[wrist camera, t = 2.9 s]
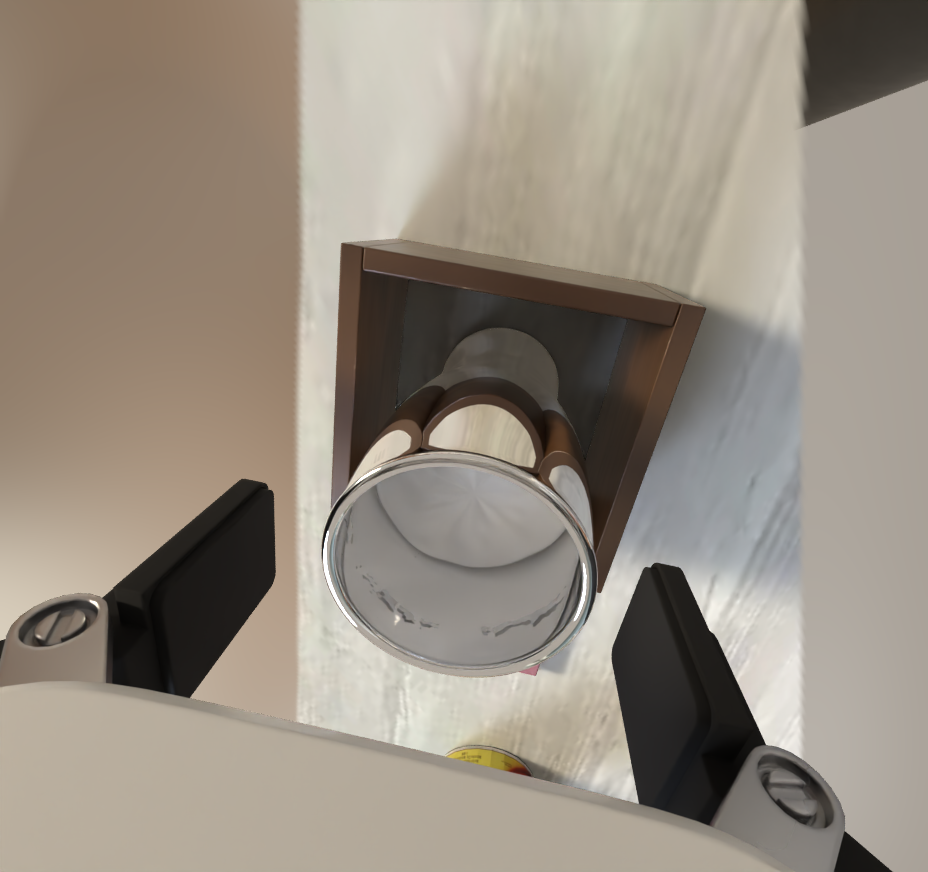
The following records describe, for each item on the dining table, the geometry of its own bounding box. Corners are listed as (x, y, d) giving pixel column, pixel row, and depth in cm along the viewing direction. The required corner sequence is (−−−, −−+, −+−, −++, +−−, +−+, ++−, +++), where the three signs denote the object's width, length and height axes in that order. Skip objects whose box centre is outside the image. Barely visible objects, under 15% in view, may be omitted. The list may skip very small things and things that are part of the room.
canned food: (540, 807, 39) (542, 1032, 28) (449, 803, 40) (417, 1015, 30) (526, 745, 36) (522, 970, 25) (429, 744, 37) (385, 954, 27)
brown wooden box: (396, 238, 22) (340, 242, 16) (656, 284, 21) (707, 308, 15) (376, 463, 27) (329, 534, 21) (585, 507, 27) (601, 593, 20)
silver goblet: (415, 341, 24) (260, 485, 11) (547, 299, 22) (565, 407, 9) (458, 457, 27) (377, 696, 13) (581, 427, 25) (635, 669, 11)
